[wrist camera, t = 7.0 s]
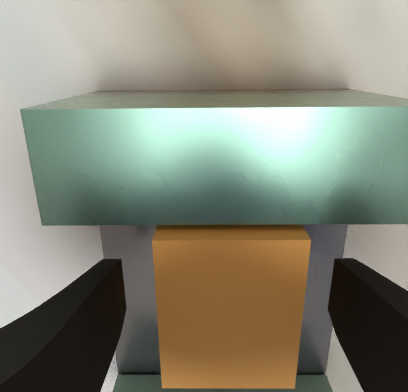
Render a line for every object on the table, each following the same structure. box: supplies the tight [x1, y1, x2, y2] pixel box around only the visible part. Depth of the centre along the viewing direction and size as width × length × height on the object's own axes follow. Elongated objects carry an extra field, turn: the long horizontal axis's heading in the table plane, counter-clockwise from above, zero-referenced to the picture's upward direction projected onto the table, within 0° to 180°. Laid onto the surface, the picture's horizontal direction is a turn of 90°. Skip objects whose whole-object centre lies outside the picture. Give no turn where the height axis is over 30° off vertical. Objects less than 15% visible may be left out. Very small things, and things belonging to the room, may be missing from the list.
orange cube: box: [152, 224, 311, 389], centre depth 12 cm, size 4×5×5 cm
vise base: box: [20, 89, 408, 375], centre depth 14 cm, size 10×20×6 cm, turn 1°
